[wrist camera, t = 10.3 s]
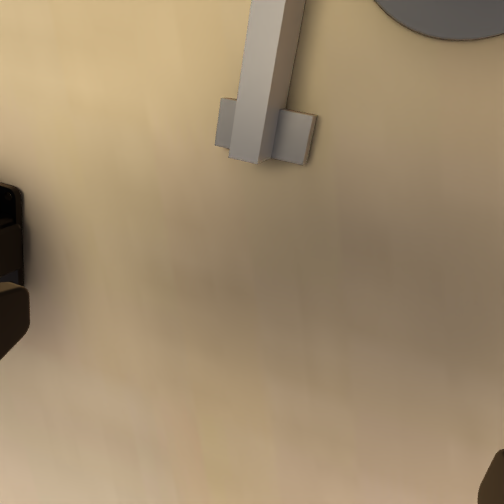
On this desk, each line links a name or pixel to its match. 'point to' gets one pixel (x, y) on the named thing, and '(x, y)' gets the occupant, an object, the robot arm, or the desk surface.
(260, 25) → the low wall
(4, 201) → the robot arm
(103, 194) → the desk surface
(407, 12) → the pad
